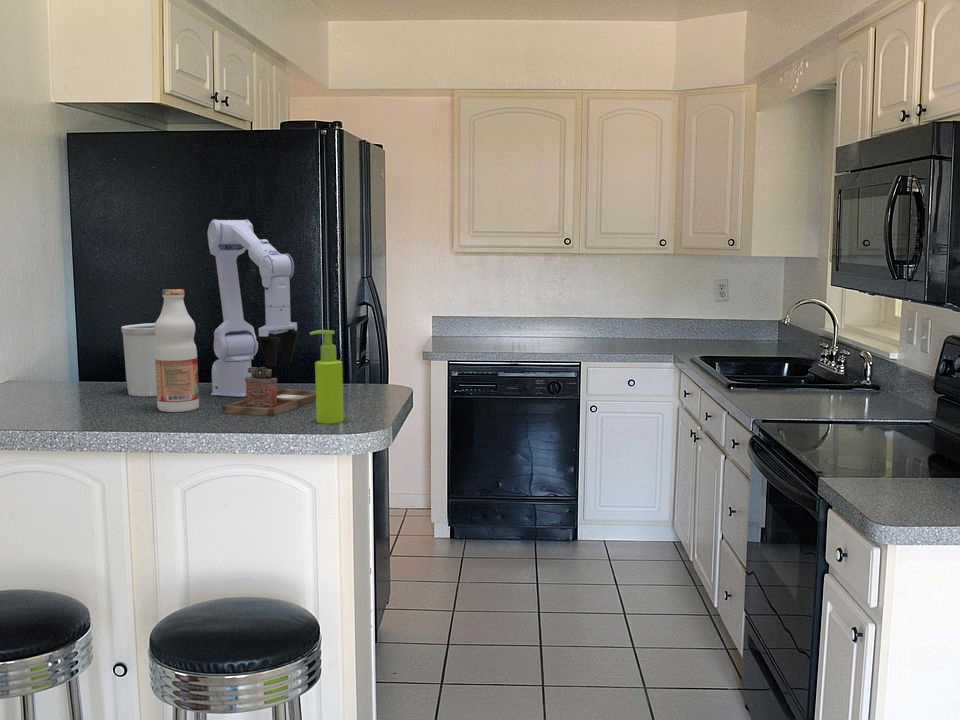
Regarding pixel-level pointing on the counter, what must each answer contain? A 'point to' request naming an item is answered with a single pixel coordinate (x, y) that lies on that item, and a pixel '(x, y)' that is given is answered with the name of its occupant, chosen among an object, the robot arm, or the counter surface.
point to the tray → (285, 402)
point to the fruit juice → (176, 356)
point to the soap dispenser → (328, 382)
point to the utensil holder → (140, 359)
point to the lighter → (261, 388)
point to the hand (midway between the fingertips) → (279, 363)
